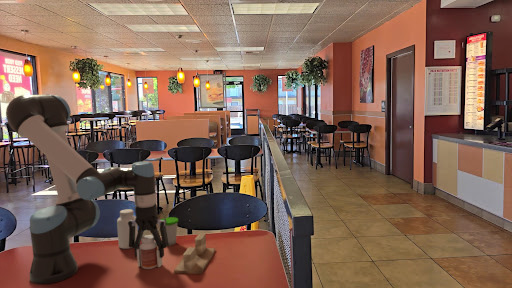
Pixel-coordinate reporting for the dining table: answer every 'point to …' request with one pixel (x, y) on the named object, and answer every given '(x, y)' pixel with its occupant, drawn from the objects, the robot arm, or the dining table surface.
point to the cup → (171, 229)
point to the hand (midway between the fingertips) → (150, 265)
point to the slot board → (195, 257)
